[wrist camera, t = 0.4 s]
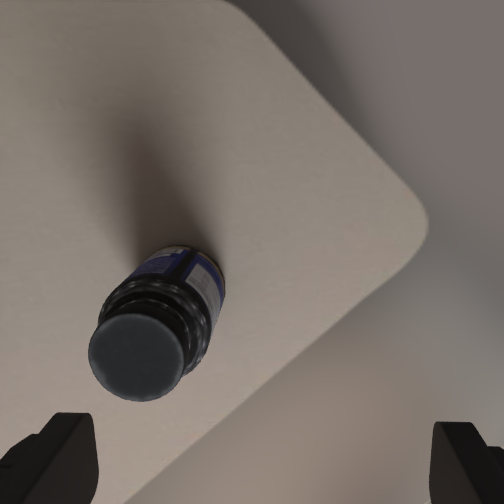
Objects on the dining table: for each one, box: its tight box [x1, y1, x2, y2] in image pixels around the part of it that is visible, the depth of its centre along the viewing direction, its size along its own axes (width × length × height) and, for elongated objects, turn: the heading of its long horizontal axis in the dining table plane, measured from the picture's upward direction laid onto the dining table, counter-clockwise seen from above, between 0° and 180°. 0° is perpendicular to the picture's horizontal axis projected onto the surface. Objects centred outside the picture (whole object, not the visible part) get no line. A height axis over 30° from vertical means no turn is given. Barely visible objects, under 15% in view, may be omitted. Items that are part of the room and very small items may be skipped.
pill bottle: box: [88, 245, 225, 402], centre depth 28 cm, size 6×6×11 cm
